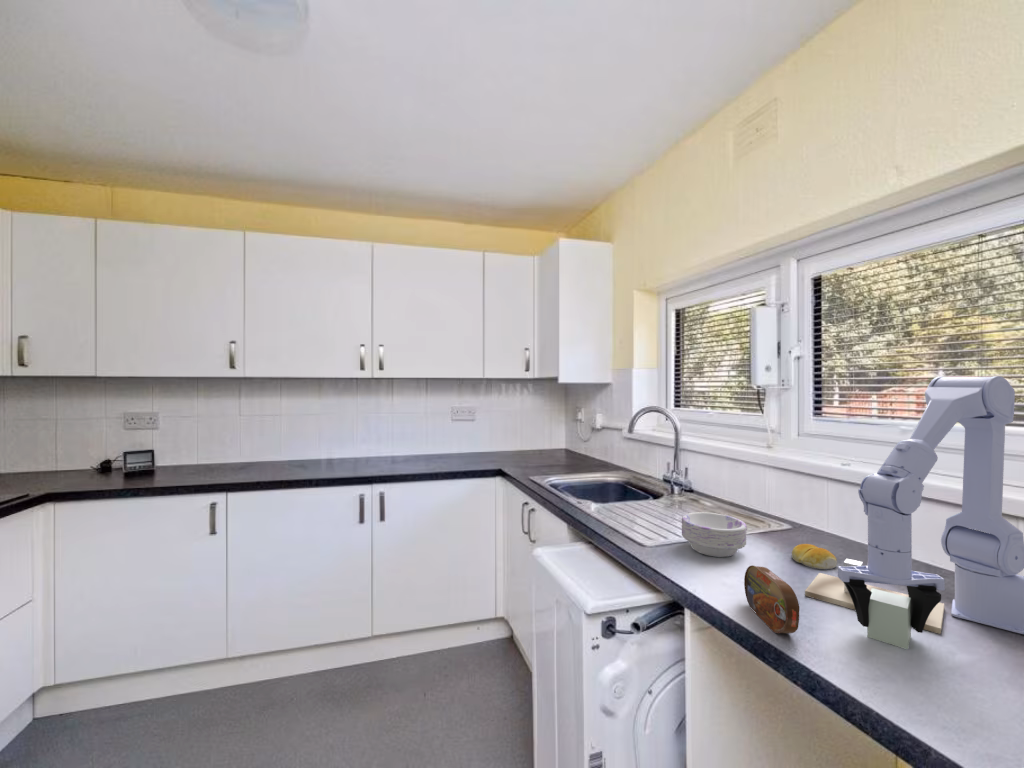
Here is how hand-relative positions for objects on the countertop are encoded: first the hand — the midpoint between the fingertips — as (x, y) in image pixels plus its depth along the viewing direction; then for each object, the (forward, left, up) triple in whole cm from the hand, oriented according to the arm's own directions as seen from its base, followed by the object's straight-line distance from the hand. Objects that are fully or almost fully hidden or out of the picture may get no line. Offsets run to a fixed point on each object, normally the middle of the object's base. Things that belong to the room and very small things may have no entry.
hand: (889, 626), depth 77 cm
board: (+4, -13, -2) cm, 14 cm away
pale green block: (0, 0, -2) cm, 2 cm away
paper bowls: (+37, -19, -2) cm, 42 cm away
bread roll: (+17, -28, -2) cm, 33 cm away
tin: (+16, +8, -2) cm, 18 cm away
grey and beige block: (+7, -13, -2) cm, 15 cm away
